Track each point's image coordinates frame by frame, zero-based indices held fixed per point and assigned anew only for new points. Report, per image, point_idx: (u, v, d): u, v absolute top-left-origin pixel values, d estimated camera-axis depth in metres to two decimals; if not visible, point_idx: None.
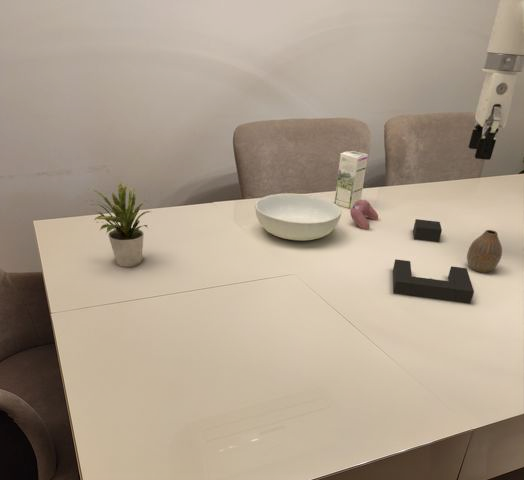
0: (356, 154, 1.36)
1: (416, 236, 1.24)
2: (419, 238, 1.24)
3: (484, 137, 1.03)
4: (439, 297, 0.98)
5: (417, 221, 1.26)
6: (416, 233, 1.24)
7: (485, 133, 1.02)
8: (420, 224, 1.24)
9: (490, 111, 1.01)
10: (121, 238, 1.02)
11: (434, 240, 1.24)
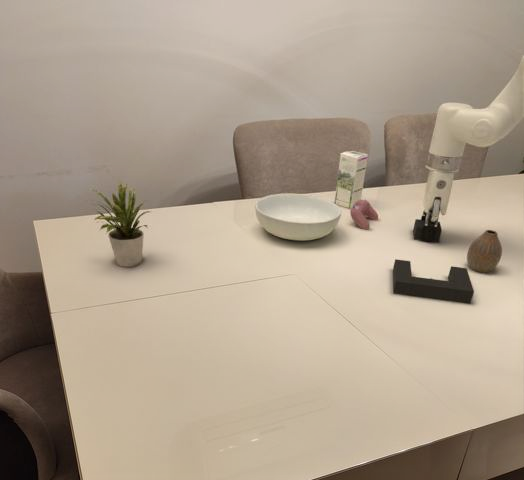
0: (356, 154, 1.36)
1: (416, 236, 1.24)
2: (419, 238, 1.24)
3: (426, 225, 1.20)
4: (439, 297, 0.98)
5: (417, 221, 1.26)
6: (416, 233, 1.24)
7: (427, 221, 1.20)
8: (420, 224, 1.24)
9: (432, 202, 1.17)
10: (121, 238, 1.02)
11: (434, 240, 1.24)
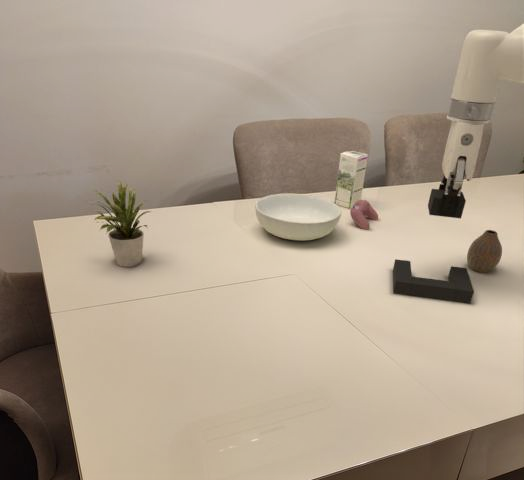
0: (356, 154, 1.36)
1: (433, 209, 0.98)
2: (436, 212, 0.98)
3: (447, 194, 0.94)
4: (439, 297, 0.98)
5: (434, 191, 1.00)
6: (433, 205, 0.97)
7: (448, 189, 0.94)
8: (438, 194, 0.98)
9: (455, 163, 0.90)
10: (121, 238, 1.02)
11: (456, 214, 0.97)
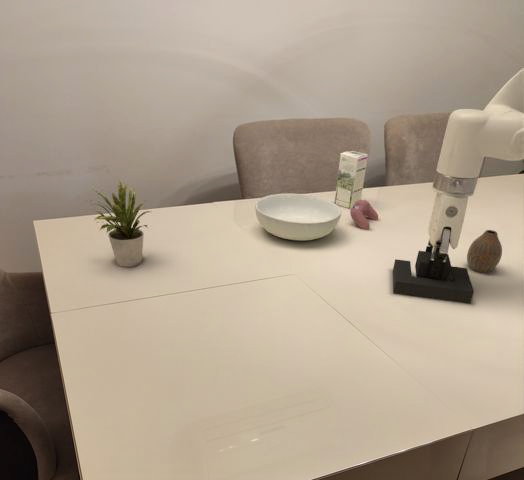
0: (356, 154, 1.36)
1: (419, 273, 1.00)
2: (423, 275, 1.01)
3: (433, 260, 0.97)
4: (439, 297, 0.98)
5: (421, 254, 1.03)
6: (419, 269, 1.00)
7: (434, 256, 0.97)
8: (425, 258, 1.01)
9: (440, 233, 0.93)
10: (121, 238, 1.02)
11: (442, 278, 1.00)
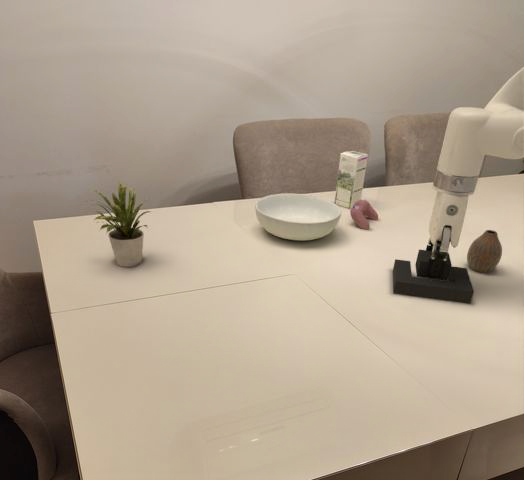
0: (356, 154, 1.36)
1: (420, 272, 1.00)
2: (423, 274, 1.00)
3: (433, 259, 0.97)
4: (439, 297, 0.98)
5: (421, 252, 1.02)
6: (420, 268, 1.00)
7: (434, 255, 0.96)
8: (425, 257, 1.01)
9: (440, 231, 0.93)
10: (121, 238, 1.02)
11: (442, 277, 1.00)
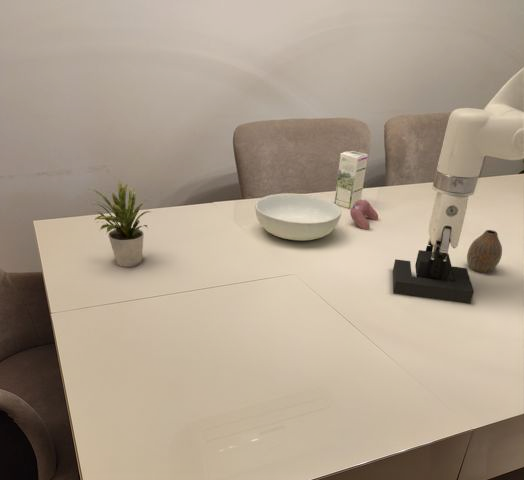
0: (356, 154, 1.36)
1: (419, 272, 1.00)
2: (423, 275, 1.01)
3: (433, 259, 0.97)
4: (439, 297, 0.98)
5: (421, 253, 1.02)
6: (420, 269, 1.00)
7: (434, 255, 0.97)
8: (425, 258, 1.01)
9: (440, 232, 0.93)
10: (121, 238, 1.02)
11: (442, 277, 1.00)
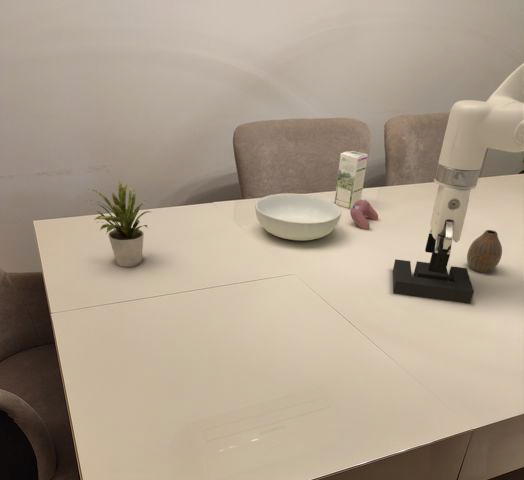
0: (356, 154, 1.36)
1: None
2: None
3: (437, 252, 0.94)
4: (439, 297, 0.98)
5: (419, 264, 1.04)
6: None
7: (438, 248, 0.94)
8: (423, 269, 1.02)
9: (442, 226, 0.93)
10: (121, 238, 1.02)
11: None
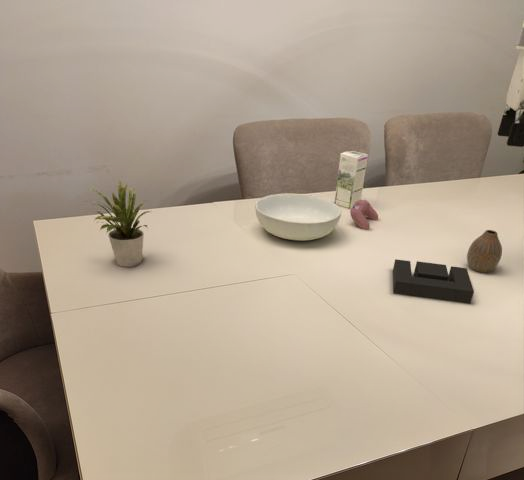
0: (356, 154, 1.36)
1: None
2: None
3: (518, 122, 0.93)
4: (439, 297, 0.98)
5: (419, 264, 1.04)
6: None
7: (519, 117, 0.93)
8: (423, 269, 1.02)
9: None
10: (121, 238, 1.02)
11: None
